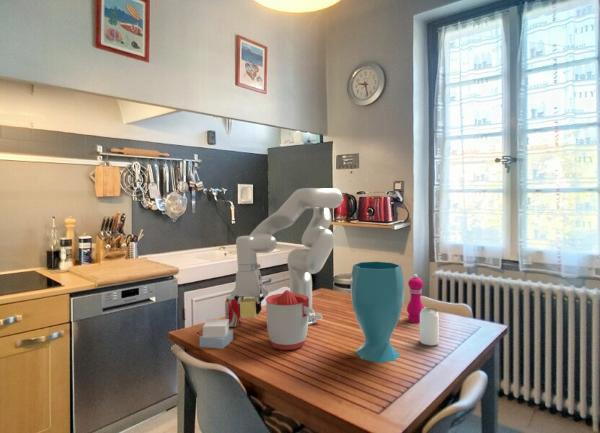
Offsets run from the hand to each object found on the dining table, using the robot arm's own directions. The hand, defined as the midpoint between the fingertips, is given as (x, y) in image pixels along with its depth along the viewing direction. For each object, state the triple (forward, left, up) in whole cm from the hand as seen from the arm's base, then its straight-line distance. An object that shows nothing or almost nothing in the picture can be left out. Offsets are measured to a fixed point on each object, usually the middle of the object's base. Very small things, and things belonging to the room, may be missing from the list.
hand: (250, 312), depth 144 cm
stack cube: (0, 0, -1) cm, 1 cm away
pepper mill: (-64, -29, -9) cm, 71 cm away
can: (-67, -4, -9) cm, 68 cm away
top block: (+9, +12, -5) cm, 15 cm away
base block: (+9, +12, -9) cm, 17 cm away
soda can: (+11, -8, -9) cm, 16 cm away
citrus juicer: (-18, +8, -9) cm, 22 cm away
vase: (-49, +9, -9) cm, 51 cm away
